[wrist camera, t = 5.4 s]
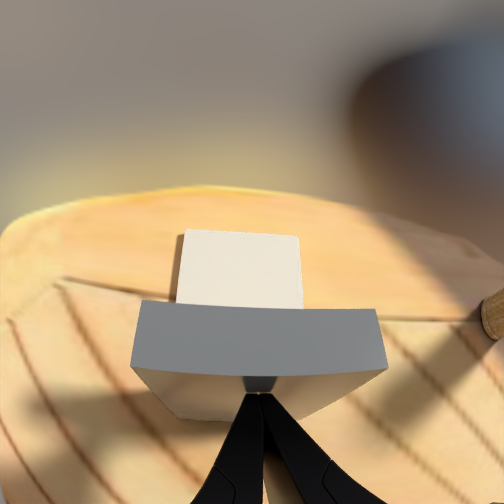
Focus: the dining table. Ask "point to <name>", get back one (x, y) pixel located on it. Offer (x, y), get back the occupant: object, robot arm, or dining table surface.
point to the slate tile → (253, 356)
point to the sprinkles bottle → (494, 315)
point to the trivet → (240, 270)
